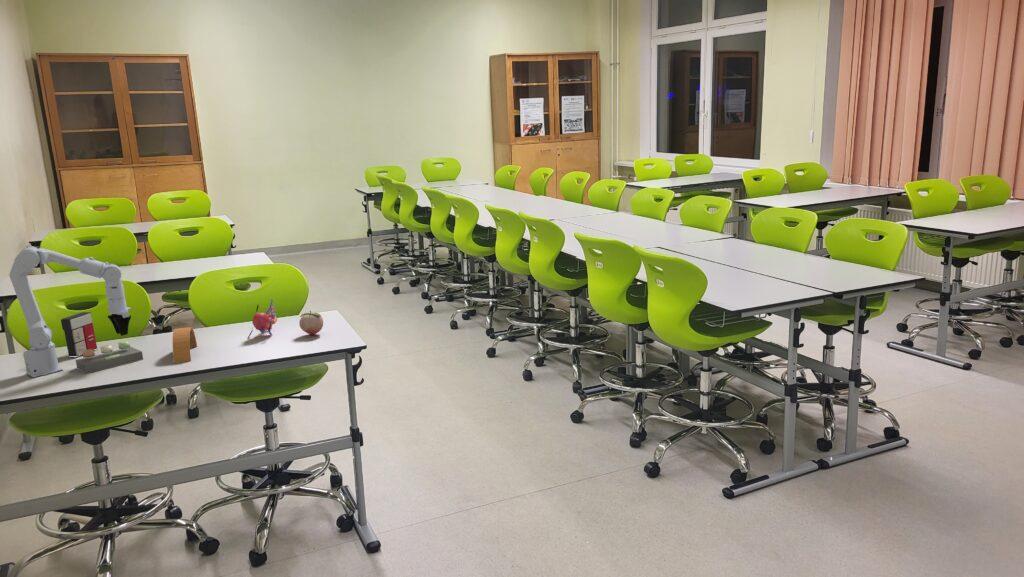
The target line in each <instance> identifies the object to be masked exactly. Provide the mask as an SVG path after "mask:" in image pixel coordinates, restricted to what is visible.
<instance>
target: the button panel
mask: <svg viewBox="0 0 1024 577" xmlns="http://www.w3.org/2000/svg"><path fill="white" fill-rule="evenodd" d="M142 360H144V355H143V351H142V350H139V349H137V348H134V347H132V346H130V347H129V348H126V349H116V350H113V351H112V352H109V353H101V354H96V355H94V356H92V357H87V358H84V357H82V358H79V359H75V364H76V368H77V369H78V368H79V369H78V370H80V371H81V370H82V371H81V372H84V373H85V374H90V373H94V372H98V371H101V370H105V369H109V368H113V367H117V366H121V365H126V364H129V363H133V362H137V361H142Z"/></svg>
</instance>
